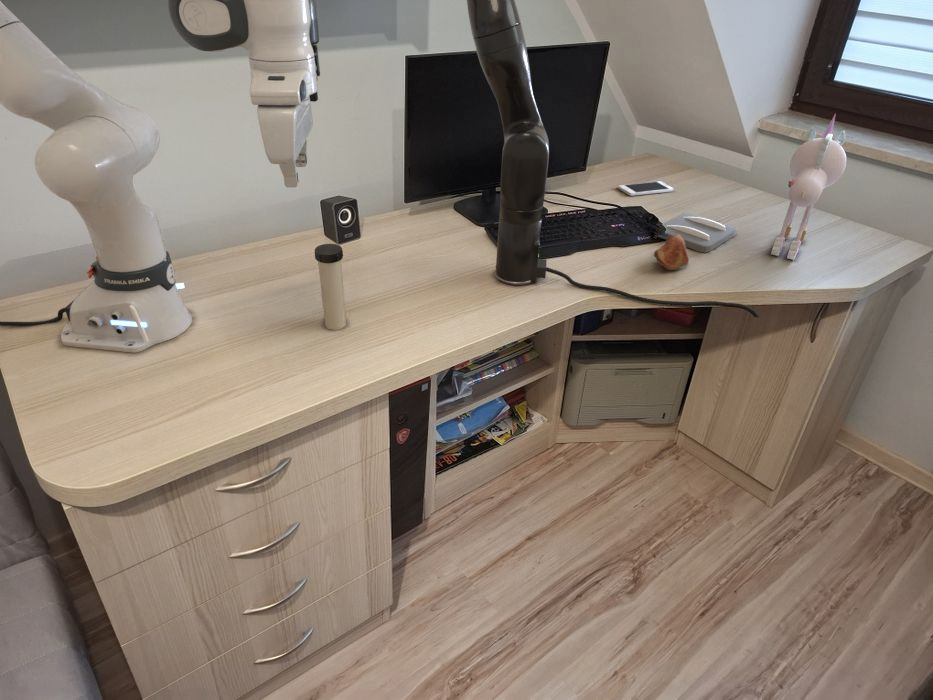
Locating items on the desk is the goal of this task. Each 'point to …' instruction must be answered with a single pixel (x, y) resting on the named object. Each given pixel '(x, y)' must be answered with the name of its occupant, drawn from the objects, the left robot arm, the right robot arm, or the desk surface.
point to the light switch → (698, 231)
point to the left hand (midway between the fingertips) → (296, 175)
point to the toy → (811, 180)
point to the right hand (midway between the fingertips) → (306, 105)
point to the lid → (328, 253)
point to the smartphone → (645, 188)
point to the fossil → (672, 253)
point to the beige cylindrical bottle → (332, 295)
